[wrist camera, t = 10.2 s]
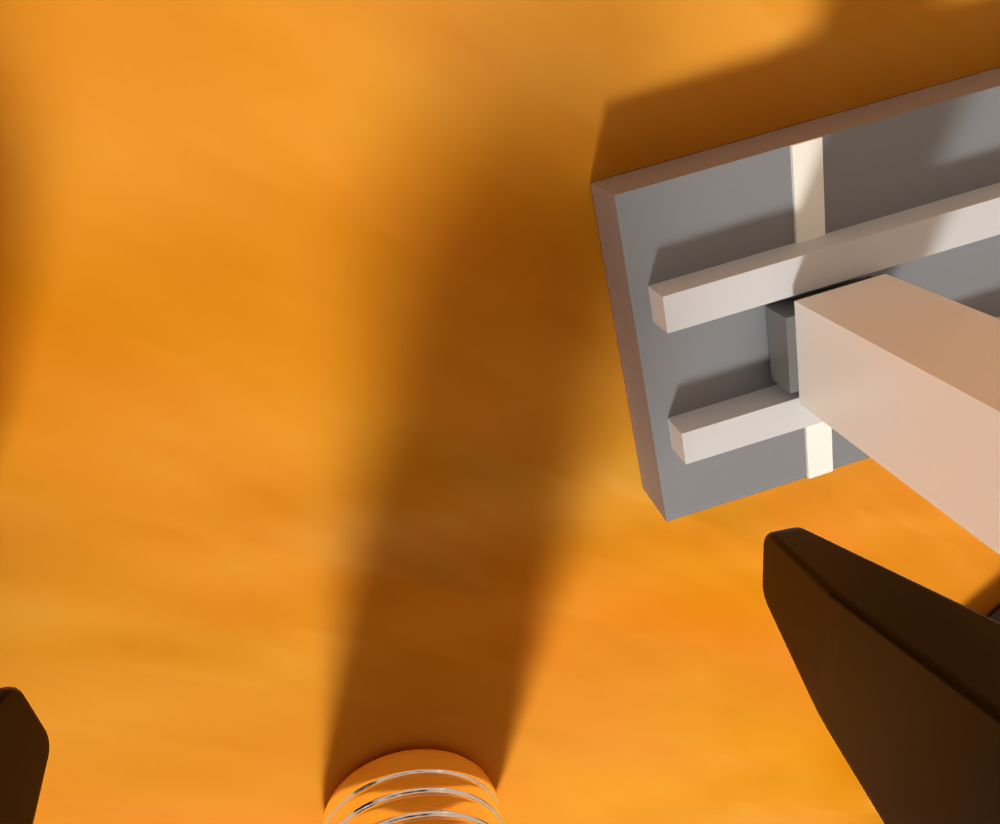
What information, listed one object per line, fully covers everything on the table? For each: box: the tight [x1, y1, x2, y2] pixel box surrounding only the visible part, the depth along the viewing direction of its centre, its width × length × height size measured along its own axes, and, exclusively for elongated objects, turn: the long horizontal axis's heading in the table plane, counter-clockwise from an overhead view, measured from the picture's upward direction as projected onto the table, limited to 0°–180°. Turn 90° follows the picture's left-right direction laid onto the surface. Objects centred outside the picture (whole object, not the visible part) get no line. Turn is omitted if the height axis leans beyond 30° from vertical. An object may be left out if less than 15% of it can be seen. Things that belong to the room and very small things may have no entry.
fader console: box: [590, 67, 1000, 521], centre depth 22 cm, size 18×10×3 cm, turn 104°
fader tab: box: [766, 274, 1000, 555], centre depth 16 cm, size 3×3×10 cm
